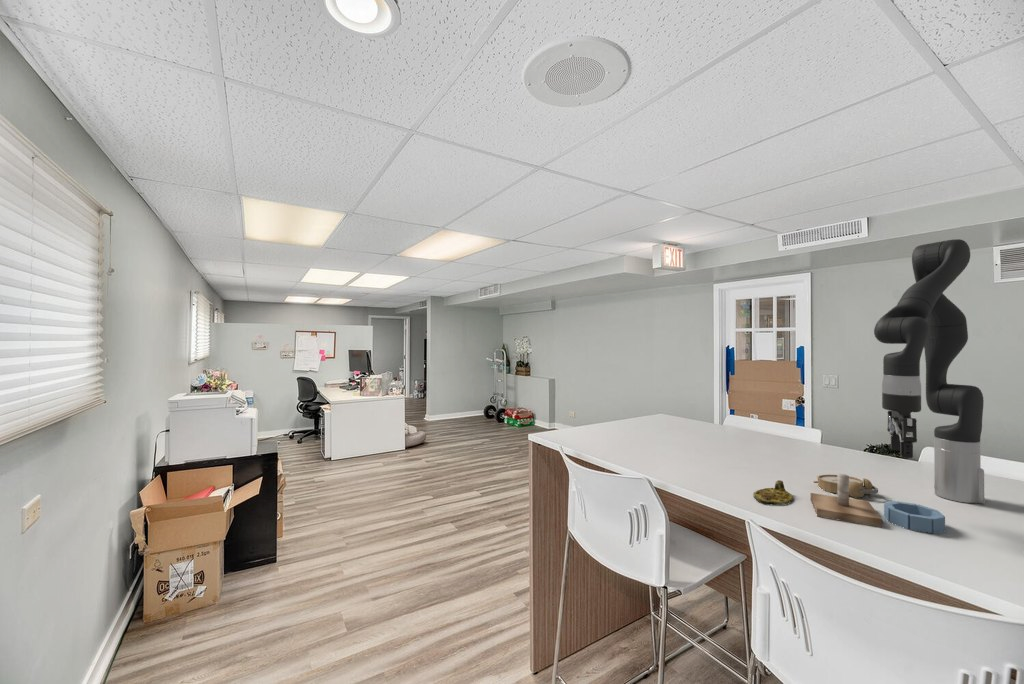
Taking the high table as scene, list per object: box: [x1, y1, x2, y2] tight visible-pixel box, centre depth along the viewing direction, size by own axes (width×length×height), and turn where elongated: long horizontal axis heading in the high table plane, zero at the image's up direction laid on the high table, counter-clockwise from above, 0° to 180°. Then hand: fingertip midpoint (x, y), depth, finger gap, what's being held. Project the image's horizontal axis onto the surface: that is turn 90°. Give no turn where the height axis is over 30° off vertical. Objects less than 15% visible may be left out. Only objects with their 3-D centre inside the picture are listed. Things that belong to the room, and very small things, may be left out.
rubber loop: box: [883, 500, 946, 534], centre depth 104 cm, size 10×10×4 cm
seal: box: [752, 480, 794, 506], centre depth 121 cm, size 9×5×15 cm
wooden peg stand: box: [810, 473, 883, 528], centre depth 111 cm, size 13×13×10 cm
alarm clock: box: [813, 474, 879, 499], centre depth 126 cm, size 11×5×15 cm
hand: (901, 453), depth 109 cm, fingers open, 8 cm apart
